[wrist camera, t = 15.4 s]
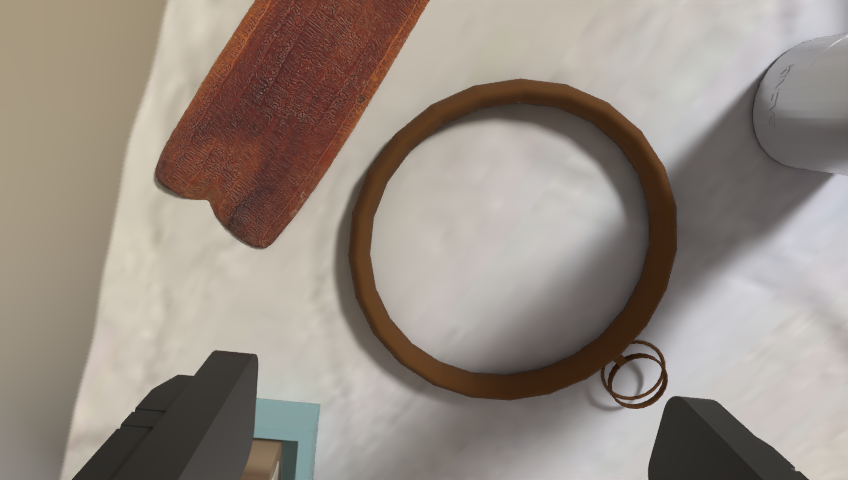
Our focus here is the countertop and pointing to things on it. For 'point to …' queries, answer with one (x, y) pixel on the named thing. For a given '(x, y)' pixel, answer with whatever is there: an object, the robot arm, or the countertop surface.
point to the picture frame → (264, 460)
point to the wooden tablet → (282, 107)
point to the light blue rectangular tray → (290, 434)
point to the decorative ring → (621, 328)
